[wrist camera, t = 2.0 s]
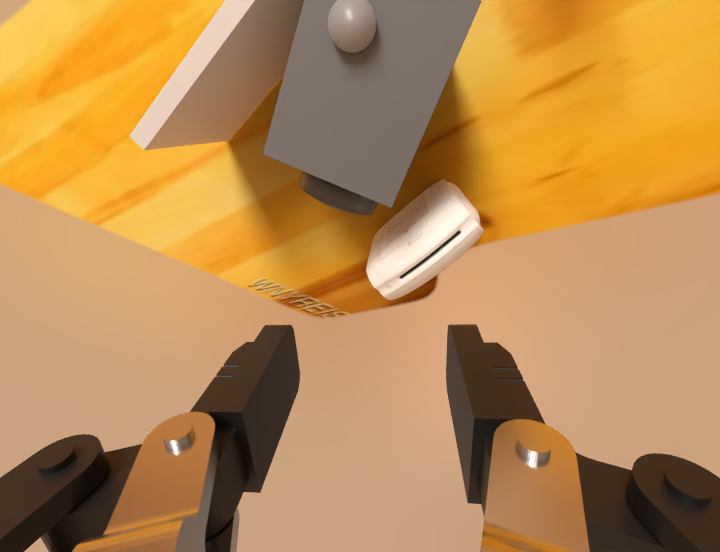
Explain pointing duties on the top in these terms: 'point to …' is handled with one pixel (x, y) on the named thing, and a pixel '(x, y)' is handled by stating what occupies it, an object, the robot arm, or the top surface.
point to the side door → (222, 75)
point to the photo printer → (422, 240)
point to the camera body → (363, 94)
